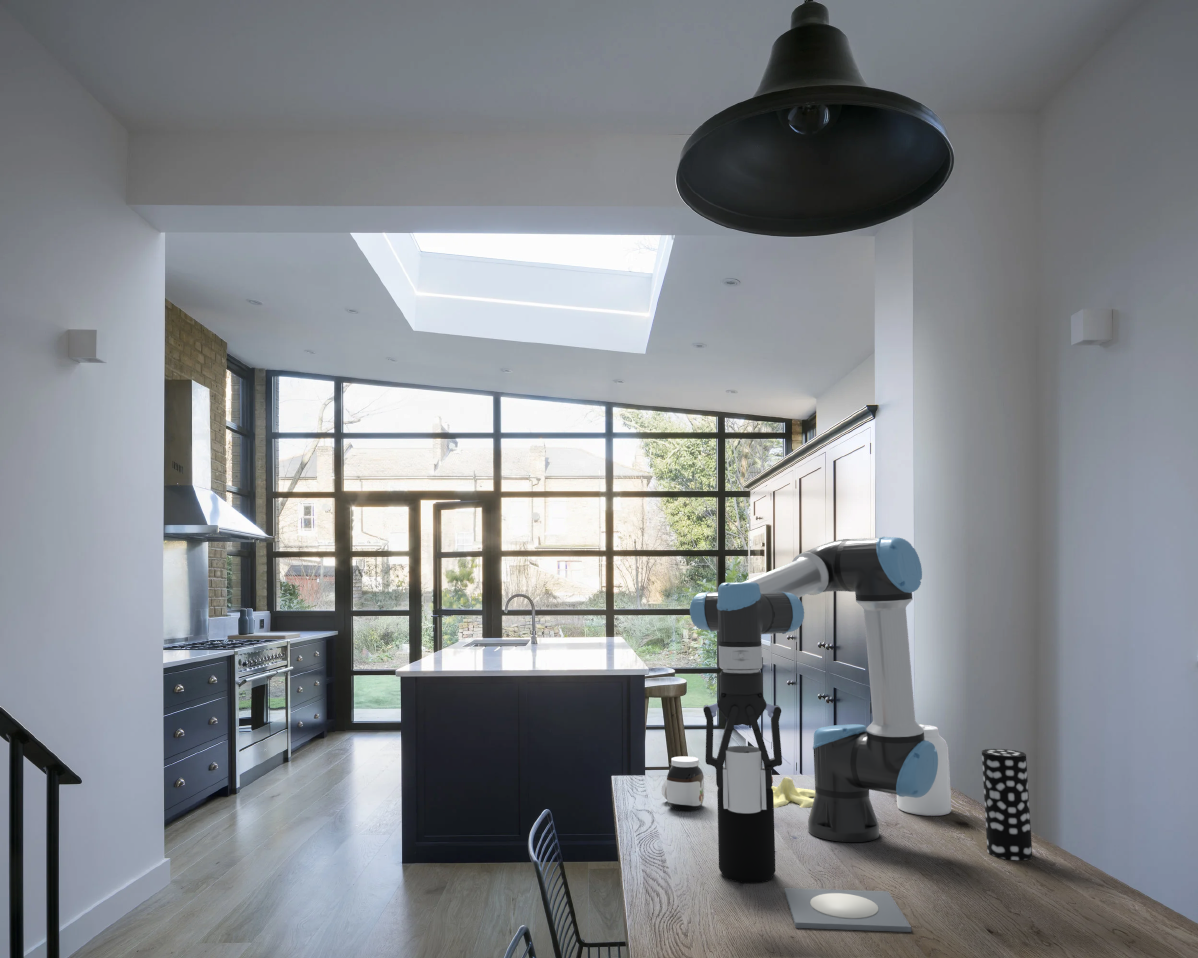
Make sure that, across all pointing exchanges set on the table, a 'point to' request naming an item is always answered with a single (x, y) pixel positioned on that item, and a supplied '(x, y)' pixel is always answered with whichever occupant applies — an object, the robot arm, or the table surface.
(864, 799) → the robot arm
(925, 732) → the white bottle
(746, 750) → the white cup
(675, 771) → the spread jar
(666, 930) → the table surface
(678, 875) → the table surface
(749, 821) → the coffee jar
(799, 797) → the cloth
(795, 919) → the board
